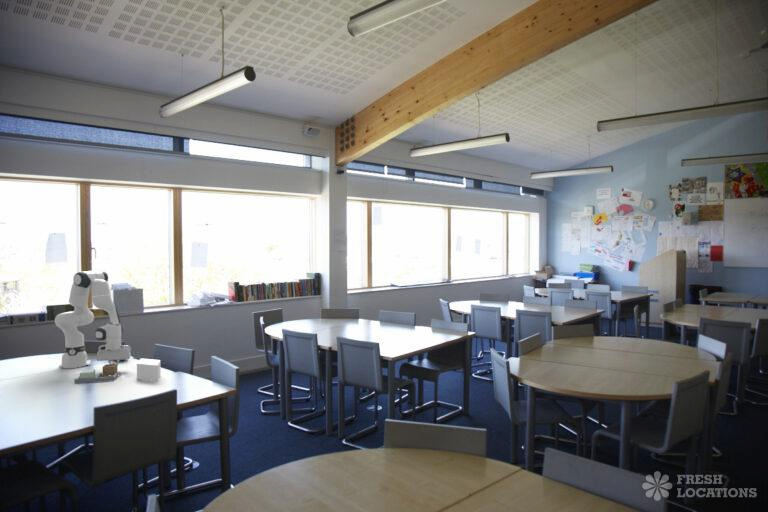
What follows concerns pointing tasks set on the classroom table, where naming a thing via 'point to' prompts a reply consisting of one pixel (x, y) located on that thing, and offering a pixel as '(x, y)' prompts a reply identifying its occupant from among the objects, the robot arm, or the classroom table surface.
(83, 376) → the sage block
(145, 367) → the white rectangular box
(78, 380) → the lane rack
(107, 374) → the walnut block
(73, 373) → the classroom table surface
